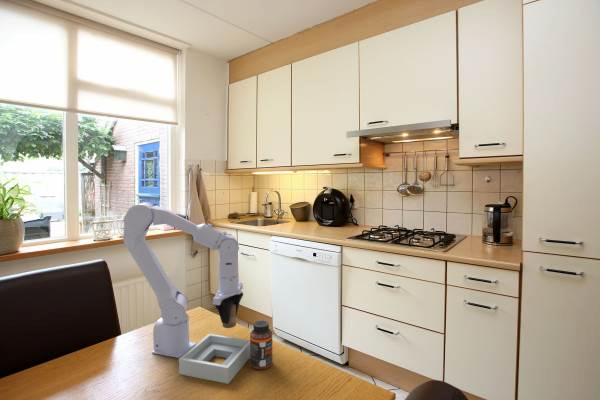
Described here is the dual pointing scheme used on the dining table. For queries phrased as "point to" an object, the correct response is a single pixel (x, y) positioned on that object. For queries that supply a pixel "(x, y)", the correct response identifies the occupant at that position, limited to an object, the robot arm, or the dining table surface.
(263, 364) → the supplement bottle
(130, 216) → the robot arm
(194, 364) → the bore box
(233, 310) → the peg
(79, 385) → the dining table surface
